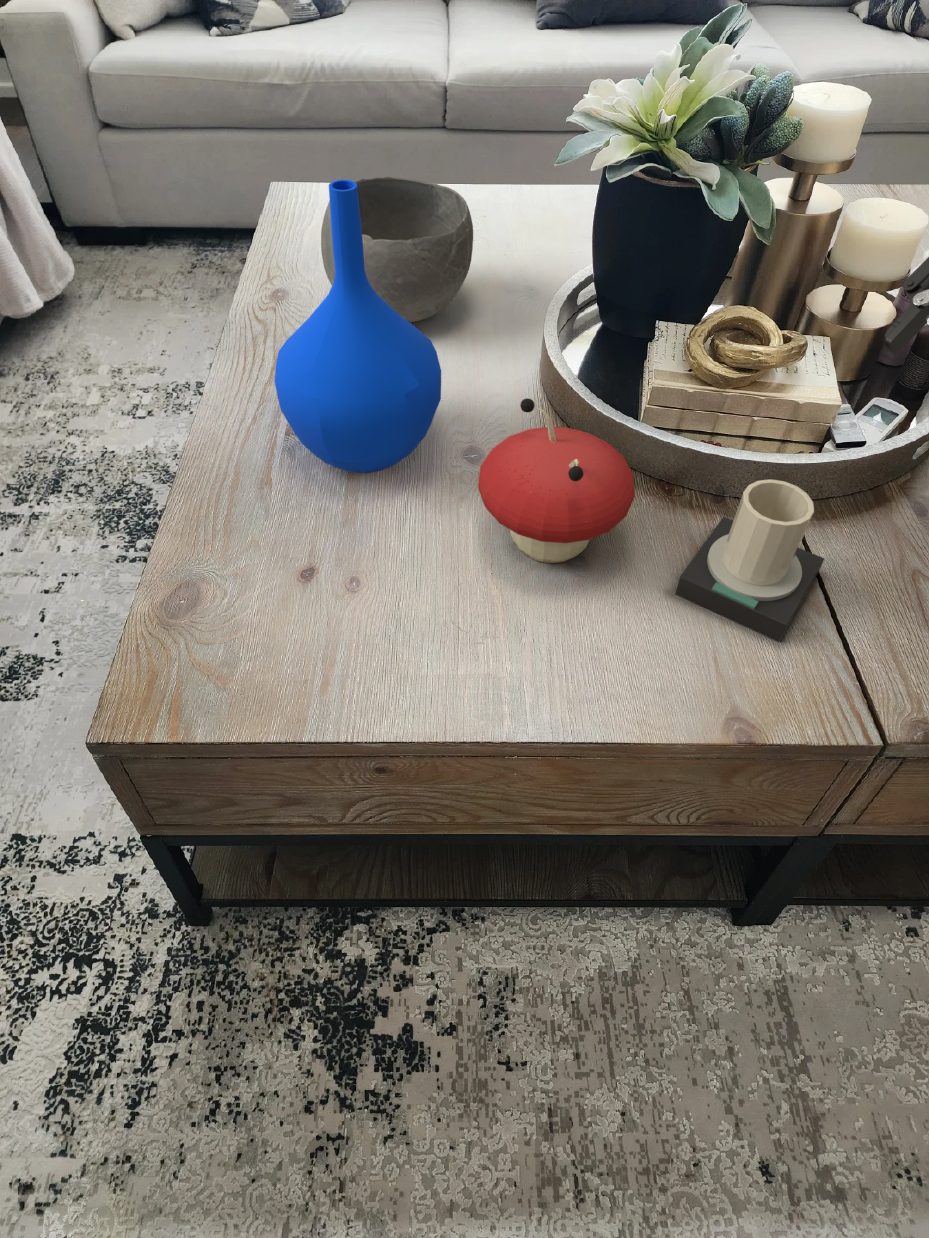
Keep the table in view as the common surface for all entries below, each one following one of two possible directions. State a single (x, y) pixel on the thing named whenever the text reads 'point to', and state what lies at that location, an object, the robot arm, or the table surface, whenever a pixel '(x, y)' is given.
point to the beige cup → (767, 531)
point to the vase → (357, 364)
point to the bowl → (410, 243)
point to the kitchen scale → (746, 587)
